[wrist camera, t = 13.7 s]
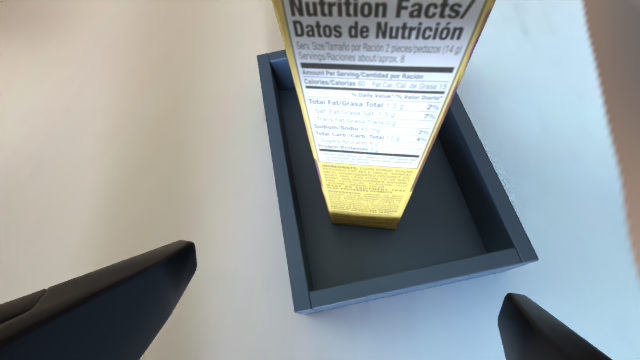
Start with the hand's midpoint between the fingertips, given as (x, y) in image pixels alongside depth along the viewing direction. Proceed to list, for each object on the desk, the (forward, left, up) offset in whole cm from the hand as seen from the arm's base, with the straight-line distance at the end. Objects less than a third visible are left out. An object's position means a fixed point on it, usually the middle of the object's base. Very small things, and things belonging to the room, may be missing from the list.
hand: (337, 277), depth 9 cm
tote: (+3, +8, -10) cm, 13 cm away
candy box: (+3, +8, -9) cm, 13 cm away
